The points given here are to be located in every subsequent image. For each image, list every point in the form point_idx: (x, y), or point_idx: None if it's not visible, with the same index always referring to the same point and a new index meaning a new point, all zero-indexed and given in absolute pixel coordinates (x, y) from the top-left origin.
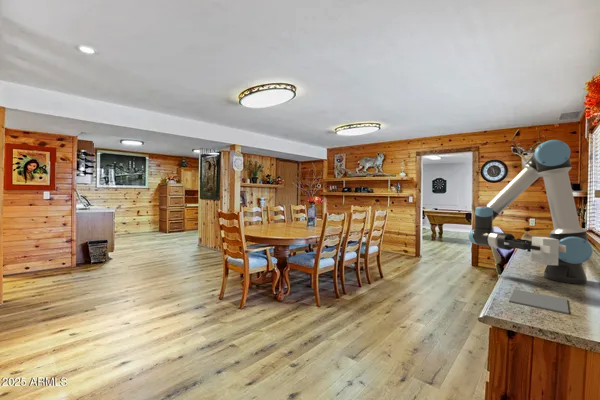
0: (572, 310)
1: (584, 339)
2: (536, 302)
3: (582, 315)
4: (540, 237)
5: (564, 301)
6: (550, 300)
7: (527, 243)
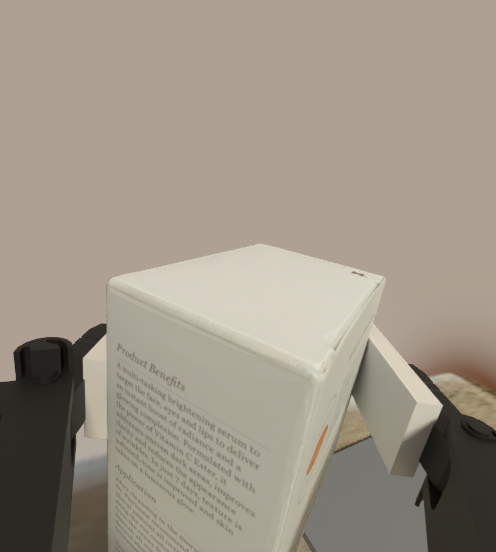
0: (359, 434)
1: (466, 378)
2: None
3: None
4: (294, 293)
5: None
6: (369, 500)
7: (479, 467)
